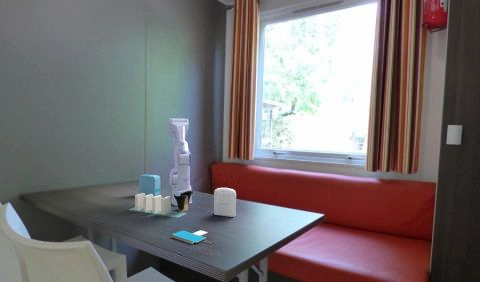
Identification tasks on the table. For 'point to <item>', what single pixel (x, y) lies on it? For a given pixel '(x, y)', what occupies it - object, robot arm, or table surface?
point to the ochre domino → (185, 205)
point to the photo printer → (225, 202)
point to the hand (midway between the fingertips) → (183, 208)
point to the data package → (149, 184)
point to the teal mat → (171, 214)
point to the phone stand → (191, 237)
